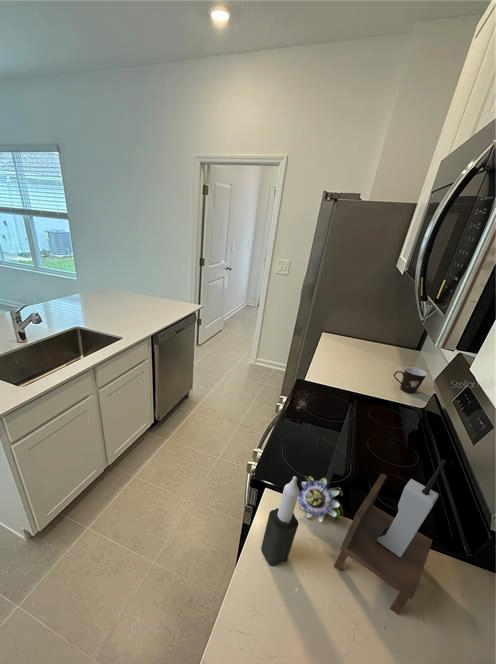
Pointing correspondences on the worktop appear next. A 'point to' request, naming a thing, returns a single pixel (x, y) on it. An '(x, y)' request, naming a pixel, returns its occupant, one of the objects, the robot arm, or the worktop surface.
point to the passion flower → (319, 499)
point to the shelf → (384, 550)
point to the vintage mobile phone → (410, 514)
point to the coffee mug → (411, 379)
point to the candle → (281, 527)
